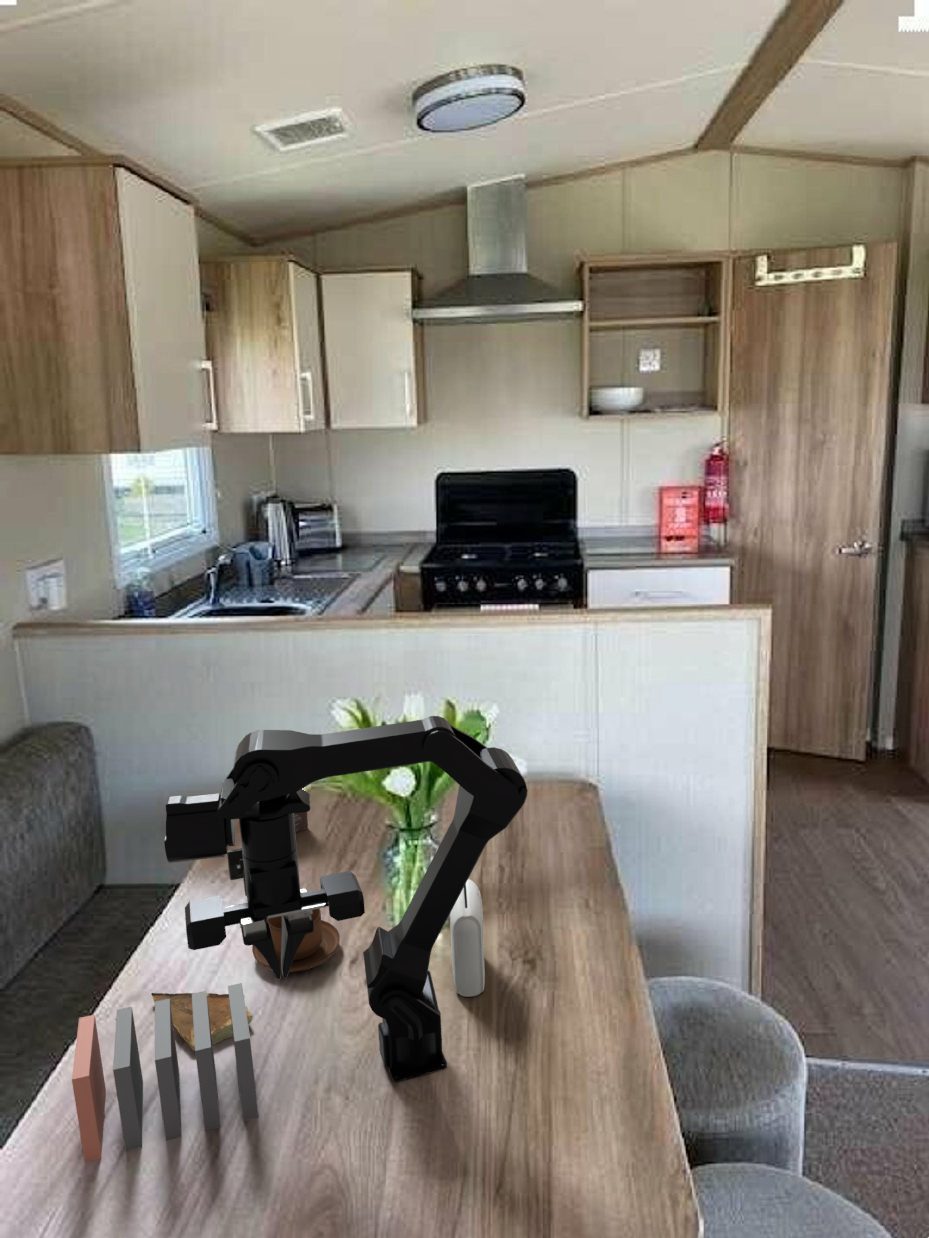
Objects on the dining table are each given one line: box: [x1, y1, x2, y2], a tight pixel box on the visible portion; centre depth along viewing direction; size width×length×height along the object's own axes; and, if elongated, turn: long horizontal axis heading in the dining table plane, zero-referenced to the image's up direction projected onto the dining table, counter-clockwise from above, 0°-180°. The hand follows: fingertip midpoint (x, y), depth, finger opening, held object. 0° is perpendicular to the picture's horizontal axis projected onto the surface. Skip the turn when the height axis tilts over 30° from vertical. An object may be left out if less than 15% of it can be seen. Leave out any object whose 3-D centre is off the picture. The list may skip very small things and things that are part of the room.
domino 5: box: [227, 982, 259, 1122], centre depth 104 cm, size 2×10×10 cm, turn 18°
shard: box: [150, 992, 253, 1053], centre depth 118 cm, size 13×9×2 cm
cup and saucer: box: [251, 908, 341, 973], centre depth 130 cm, size 12×12×6 cm
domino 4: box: [192, 990, 221, 1132], centre depth 103 cm, size 2×10×10 cm, turn 18°
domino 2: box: [112, 1006, 144, 1152], centre depth 101 cm, size 2×10×10 cm, turn 18°
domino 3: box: [154, 999, 183, 1142], centre depth 102 cm, size 2×10×10 cm, turn 18°
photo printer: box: [449, 878, 486, 998], centre depth 123 cm, size 10×4×12 cm, turn 2°
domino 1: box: [71, 1014, 107, 1163], centre depth 100 cm, size 2×10×10 cm, turn 18°
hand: (281, 976), depth 104 cm, fingers closed
